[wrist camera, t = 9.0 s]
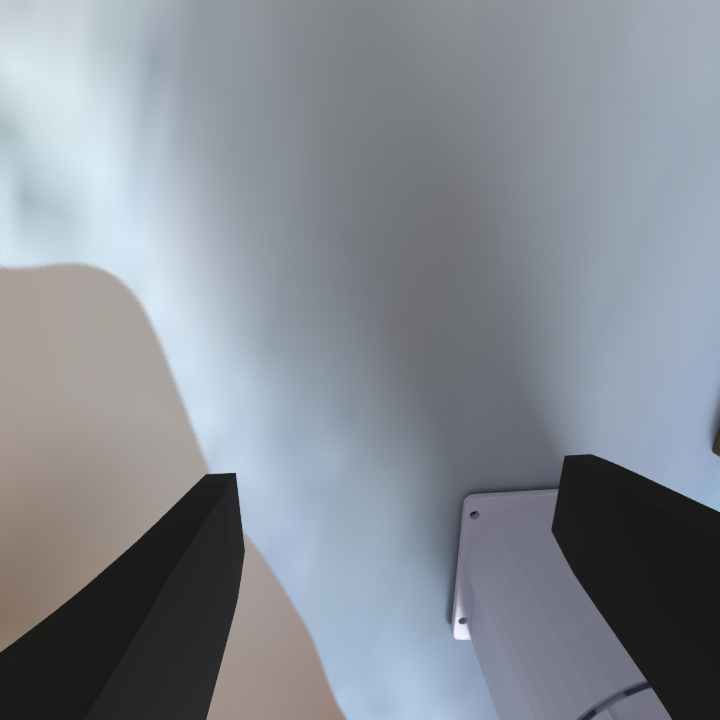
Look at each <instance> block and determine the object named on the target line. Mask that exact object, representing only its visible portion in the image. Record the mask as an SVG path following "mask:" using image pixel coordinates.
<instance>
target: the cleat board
mask: <svg viewBox="0 0 720 720" xmlns="http://www.w3.org/2000/svg"><path fill="white" fill-rule="evenodd" d="M713 453H715V454H717V455H718V456H720V431H719V434H718V437H717V440H716V443H715V446H714V449H713Z"/></svg>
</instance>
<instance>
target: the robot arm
mask: <svg viewBox="0 0 720 720" xmlns="http://www.w3.org/2000/svg"><path fill="white" fill-rule="evenodd" d="M474 511H476V513H474V514H472V515H471V514H470V513H472V512H474ZM244 553H245V549H244V540H243V532H242V523H241V514H240V505H239V497H238V488H237V479H236V473H225V474H206V475H205V476H204V477H203V478H202V479H201V480H200V481H199V482H198V483H197V484H196V485H194V486H193V487H192V488H191V489H190V490H189V491H188V492H187V493H186V494H185V495H184V496H183V497H182V498H181V499H180V500H179V501H178V502H177V503H176V504H175V505H174V506H173V507H172V508H171V509H170V510H169V511H168V512H167V513H166V514H165V515H164V516H163V517H162V518H161V519H160V520H159V521H158V522H157V523H156V524H155V525H153V526H152V527H151V528H150V530H148V531H147V532H146V533H145V534H144V535H143V536H142V537H141V538H140V539H139V540H138V541H137V542H136V543H135V544H133V545H132V546H131V547H130V548H129V549H128V550H127V551H125V552H124V553H123V554H122V555H121V556H120V557H119V558H118V559H116V560H115V561H114V562H113V563H112V564H111V565H109V566H108V567H107V568H106V569H105V570H104V571H103V572H102V573H100V574H99V575H98V576H97V577H96V578H95V579H93V580H92V581H91V582H90V583H89V584H88V585H87V586H85V587H84V588H83V589H82V590H81V591H79V592H78V593H77V594H76V595H75V596H73V597H72V598H71V599H70V600H68V601H67V602H66V603H65V604H63V605H62V606H61V607H60V608H58V609H57V610H56V611H55V612H53V613H52V614H51V615H49V616H48V617H47V618H46V619H45V620H43V621H42V622H40V623H39V624H38V625H36V626H35V627H34V628H33V629H31V630H30V631H28V632H27V633H26V634H24V635H23V636H22V637H21V638H19V639H18V640H17V641H15V642H14V643H13V644H11V645H10V646H8V647H7V648H6V649H4V650H3V651H2V652H0V720H206V718H207V714H208V711H209V707H210V703H211V699H212V696H213V692H214V688H215V684H216V680H217V677H218V673H219V669H220V665H221V662H222V658H223V654H224V650H225V647H226V643H227V639H228V635H229V631H230V628H231V623H232V620H233V616H234V612H235V608H236V604H237V600H238V594H239V587H240V581H241V574H242V566H243V560H244ZM451 632H452V635H453V637H454V638H455V639H457V640H468V639H471V640H472V643H473V646H474V648H475V651H476V654H477V657H478V660H479V662H480V665H481V668H482V671H483V674H484V676H485V679H486V682H487V685H488V688H489V690H490V693H491V696H492V699H493V701H494V704H495V707H496V710H497V713H498V715H499V718H500V720H720V512H718V511H716V510H714V509H712V508H710V507H707V506H705V505H703V504H701V503H699V502H697V501H694V500H692V499H690V498H688V497H686V496H684V495H682V494H679V493H677V492H675V491H673V490H671V489H669V488H667V487H665V486H662V485H660V484H658V483H656V482H654V481H652V480H650V479H647V478H645V477H643V476H641V475H639V474H637V473H635V472H632V471H630V470H628V469H626V468H624V467H621V466H619V465H617V464H614V463H612V462H610V461H607V460H605V459H602V458H600V457H597V456H594V455H591V454H587V455H568V456H565V458H564V463H563V468H562V474H561V479H560V485H559V489H550V490H533V491H516V492H500V493H483V494H472V495H469V496H467V497H466V498H465V500H464V502H463V511H462V521H461V532H460V542H459V552H458V562H457V573H456V583H455V593H454V604H453V614H452V624H451Z"/></svg>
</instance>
